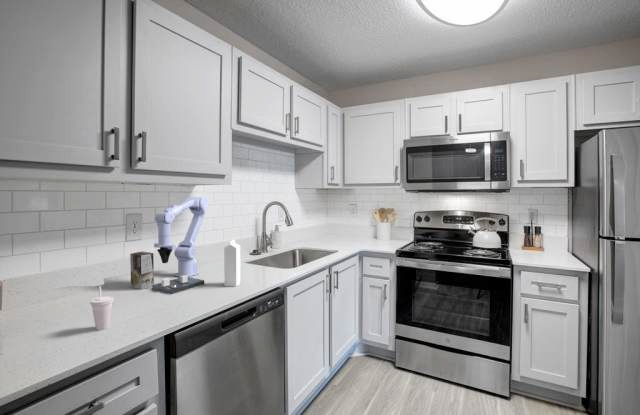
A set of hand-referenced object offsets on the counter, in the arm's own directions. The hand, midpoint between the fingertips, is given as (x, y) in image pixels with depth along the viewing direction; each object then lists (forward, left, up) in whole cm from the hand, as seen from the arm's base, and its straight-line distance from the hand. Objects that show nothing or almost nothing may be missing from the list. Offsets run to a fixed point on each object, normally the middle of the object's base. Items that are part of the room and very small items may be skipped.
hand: (165, 262), depth 161 cm
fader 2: (0, +14, -8) cm, 16 cm away
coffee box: (+10, -3, -10) cm, 14 cm away
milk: (-15, +31, -10) cm, 36 cm away
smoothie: (+44, +31, -10) cm, 55 cm away
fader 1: (+8, +12, -8) cm, 16 cm away
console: (+1, +12, -10) cm, 16 cm away
